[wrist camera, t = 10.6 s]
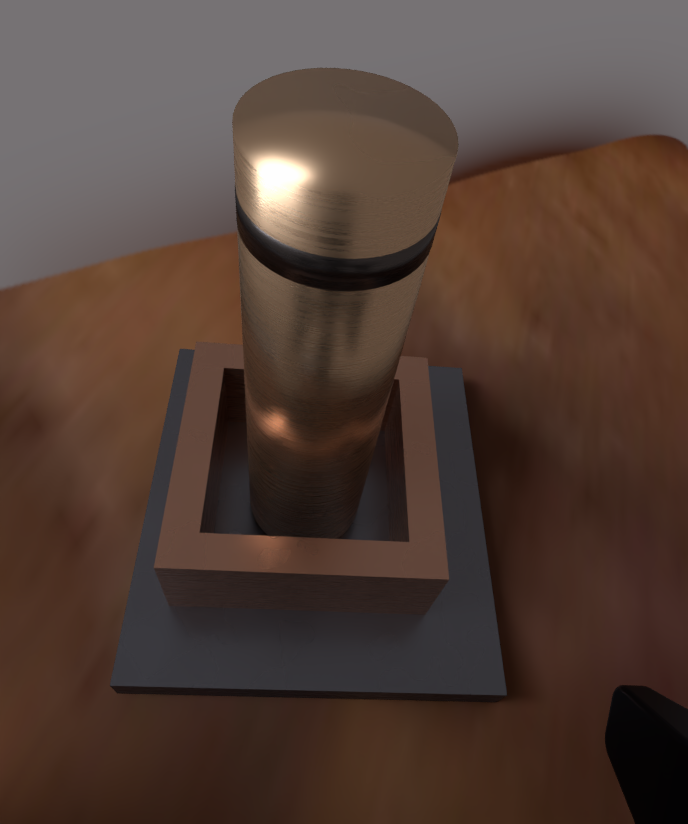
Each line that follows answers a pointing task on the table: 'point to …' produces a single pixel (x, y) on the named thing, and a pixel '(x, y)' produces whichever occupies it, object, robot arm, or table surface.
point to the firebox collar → (313, 559)
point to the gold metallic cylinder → (329, 277)
